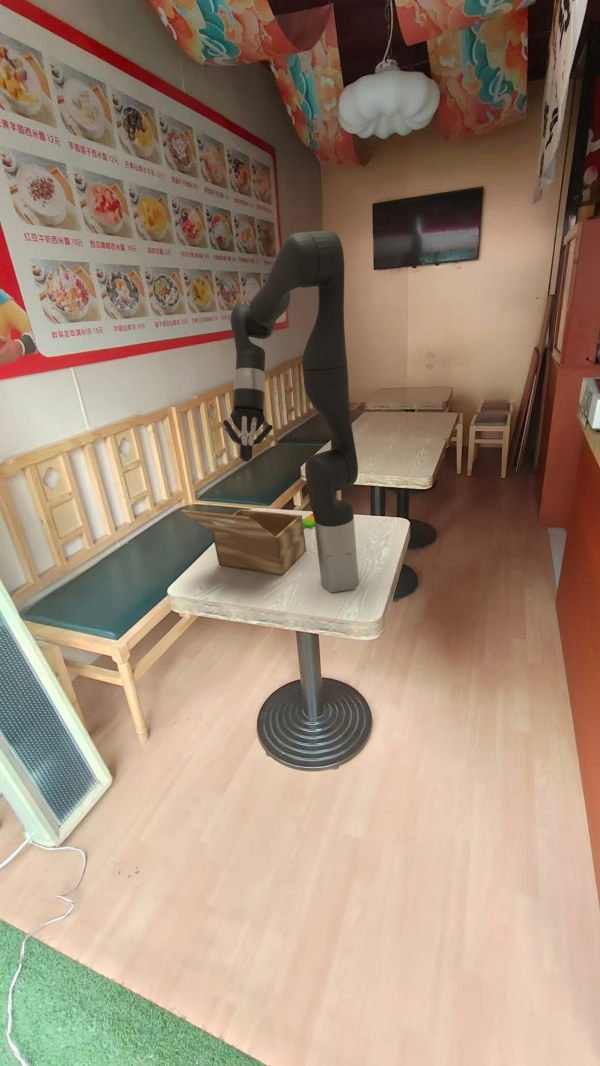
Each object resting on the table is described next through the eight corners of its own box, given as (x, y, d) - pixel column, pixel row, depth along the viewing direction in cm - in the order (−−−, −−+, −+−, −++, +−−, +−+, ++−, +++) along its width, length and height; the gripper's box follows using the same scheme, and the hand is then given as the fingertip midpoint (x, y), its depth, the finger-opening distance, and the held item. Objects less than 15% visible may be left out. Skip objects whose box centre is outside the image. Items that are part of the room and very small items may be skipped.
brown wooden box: (246, 543, 154) (240, 509, 149) (306, 551, 145) (301, 515, 140) (219, 565, 143) (211, 529, 138) (282, 575, 134) (276, 537, 129)
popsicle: (330, 519, 163) (329, 513, 163) (298, 538, 154) (297, 532, 153) (316, 516, 167) (316, 510, 166) (285, 534, 157) (284, 528, 157)
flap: (181, 509, 126) (180, 511, 126) (249, 516, 117) (248, 519, 117) (212, 529, 138) (211, 531, 138) (275, 537, 129) (275, 539, 129)
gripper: (225, 383, 121) (221, 458, 122) (279, 390, 125) (275, 462, 126) (219, 389, 128) (216, 460, 129) (271, 396, 132) (267, 464, 133)
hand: (245, 461), depth 128 cm, fingers closed
